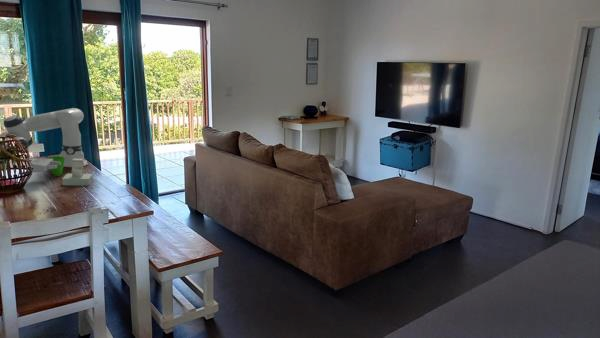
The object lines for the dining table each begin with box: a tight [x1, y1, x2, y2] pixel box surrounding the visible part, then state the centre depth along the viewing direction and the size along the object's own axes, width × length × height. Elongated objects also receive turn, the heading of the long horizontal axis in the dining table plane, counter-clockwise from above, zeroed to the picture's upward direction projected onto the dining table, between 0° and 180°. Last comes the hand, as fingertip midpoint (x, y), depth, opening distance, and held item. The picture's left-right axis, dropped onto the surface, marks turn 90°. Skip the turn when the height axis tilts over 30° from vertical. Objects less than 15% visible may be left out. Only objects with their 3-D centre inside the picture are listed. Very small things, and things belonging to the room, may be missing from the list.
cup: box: [48, 155, 65, 177], centre depth 271 cm, size 9×9×11 cm
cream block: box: [71, 159, 84, 177], centre depth 257 cm, size 5×5×10 cm
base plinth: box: [61, 173, 94, 187], centre depth 258 cm, size 13×14×4 cm
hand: (58, 165), depth 253 cm, fingers open, 8 cm apart
